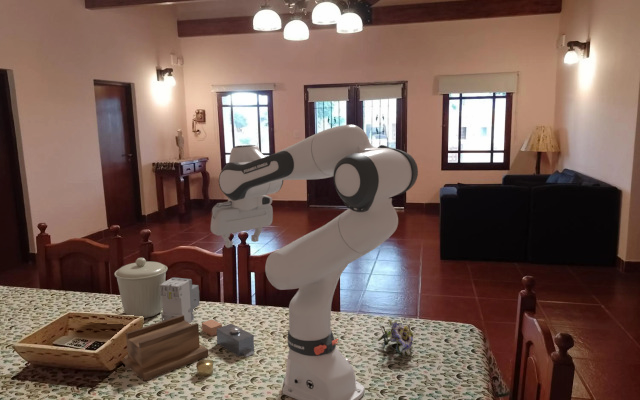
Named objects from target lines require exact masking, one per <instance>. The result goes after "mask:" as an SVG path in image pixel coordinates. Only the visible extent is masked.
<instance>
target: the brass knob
mask: <svg viewBox="0 0 640 400" xmlns="http://www.w3.org/2000/svg"><path fill="white" fill-rule="evenodd" d="M196 373H197V376H198V377H199V378H208V377H210V376H212V375H213V374H214V363H213V360H211V359H200V360H198V362H197V363H196Z"/></svg>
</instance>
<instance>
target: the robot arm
mask: <svg viewBox="0 0 640 400" xmlns="http://www.w3.org/2000/svg"><path fill="white" fill-rule="evenodd" d="M418 176H419V169H418V164H417V162H416V160H415V159H414V157H413V156H412V155H411V154H409V153H407V152H406V151H403V150H401V149H397V148H393V147H391V146H387V145H383V144H381V145H379V146H378V147H376V146H373V145H372V144H371V143H370V139H369V137H368V135H367V133H366V132H365V130H363V129H362V128H361V127H360V126H358V125H355V124H344V125H337V126H334V127H330V128H327V129H324V130H322V131H319V132H317V133H315V134H312V135H311V136H308V137H306V138H304V139H303V140H300V141H298V142H296V143H294V144H292V145H289V146H287V147H285V148H283V149H281V150H278V152H275V153H272V154H270V155H267V156H265V155H264V154H263V153H262V152H261V150H260V148H259V146H257V145H255V144H245V145H236V146H233V147H232V148H231V150H230V154H229V161H228V163H226V164H225V165H224V166H223V168H222V169H221V171H220V174H219V176H218V185H219V189H220V190H221V192H222V193H223V194H224V195H225V196H226V197H227V201H224V202H217V203H216V204H215V205H214V206H213V207H212V209H211V220H210V232H211V233H212V234H214V235H215V236H218V237H219V236H221V237H222V239H223V240H224V246H225V248H227V249H230V248H233V246H234V245H233V244H234V243H233V241H232V240H230V239H229V238H230V236H231V234H234V233H240V232H245V231H250V230H254V232H253V234H252V235H251V237H250V240H251V242H253V243H256V242H259V237H260V235H261V233H262V231H263V228H264V227H270V226H271V224H272V223H273V220H274V217H273V216H274V212H273V210H274V209H273V206H272V205H271V204H272V203H273V197H271V196H269V195H273V194H276V193H278V192H280V190H281V189H282V187H283V185H284V181H287V180H289V181H294V180H295V181H296V180H297V181H298V180H299V181H300V180H302V181H303V180H306V181H307V180H320V179H321V180H322V179H328V178H333V184H334V188H335V190H336V192H337V194H338V196H339V197H340V198H339V199H341V201H342V202H343V204H344V205H345V207H347V209H346V210H344V211H343V212H342V213H340V214H339V215H337V216H336V217H334V218H333V219H332V220H330V221H329V222H327V223H326V224H324V225H322V226H320V227H319V228H316V229H315V230H312V231H310V232H309V233H307V234H305V235H302V236H301V237H299V238H297V239H296V240H293V241H291V242H290V243H288V244H286V245H284V246H282V247H281V248H278V249H276V250H274V251H273V252H271V253H270V254H269V255H268V257H267V258H266V262H265V269H264V271H265V275H266V277H267V280H268V282H269V283H270V284H271V285H272V286H273V287H274V288H275V289H276V290H280V291H282V290H296V289H298V290H297V291H296V293H295V294H294V296H293V297H292V298H291V300H290V301H289V305H288V327H289V328H288V332H287V337H286V339H287V346H288V355H287V360H286V367H285V369H286V370H285V376H284V379H283V384H284V386H283V387H282V394H283V395H285V396H288V397H290V398H293V399H295V400H360V399H361V398H362V397H363V395H364V394H365V391H366V390H365V386H364V385H362V383H360V382H359V381H358V380H357V379H356V375H355V369H354V368H353V366H352V365H351V363H350V359H348V358H347V357H346V358H345V356H344V355H343V354H342V353H341V351H340V350H339V349H338V348H337V344H338V343H339V341H338V340H339V338H336V339H335V338H334V334H333V331H332V329H331V328H332V327H331V323H332V321H331V319H332V318H331V317H332V316H331V314H332V302H333V298H334V295H335V290H336V288H337V285H338V283H339V280H340V278H341V276H342V274H343V272H344V271H345V270H346V268H347V267H348V266H349V264H351V263H353V262H355V261H356V260H358V259H360V258H362V257H364V256H366V255H368V253H370V252H372V251H373V250H375V249H376V248H378V247H379V246H381V245H382V244H383V243H385V242H386V241H387V240H388V239H390V238H391V236H392V235H393V234H394V233H395V232H396V230H397V228H398V225H399V217H398V213H397V210H396V208H395V207H394V205H393V203H392V202H393V198H392V197H395V196H400V195H403V194H404V193H406V192H408V191H409V190H410V189H412V187H413V186H414V185H415V184H416V182H417V180H418Z"/></svg>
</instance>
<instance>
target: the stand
mask: <svg viewBox="0 0 640 400" xmlns="http://www.w3.org/2000/svg"><path fill="white" fill-rule="evenodd" d="M199 326H200V325H199V323H198V322H195V323H192V324H191V322H190V323H188V322H186V321H185V320H184V315H181V316H178V317H175V318H172V319H168V320H165V321H162V320H161V321H159V322H156V323H154V324H153V323H152V324H149V325H147V326H144V327H140V328H137V329H134V330H131V331H127V332H126V333H125V335H126V348H127V350H126V352H128V355H126V356H125V357H124V360H123V362H122V364H124V365H125V366H126V367H128V368H129V370H131V371H132V372H133V373H135V374H136V375H137V376H138V377H139V378H140V379H141V380H142V381H144V382H146V381H149V380H151V379H154V378H156V377H158V376H161V375H163V374H166V373H169V372H171V371H174V370H176V369H179V368H182V367H184V366H186V365H188V364H192V363H194V362H196V361H200V360H203V359H204V358H206V357H209V349H208V348H207V347H205V346H203V345H201V343H200V329H199Z"/></svg>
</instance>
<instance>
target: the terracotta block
mask: <svg viewBox="0 0 640 400" xmlns="http://www.w3.org/2000/svg"><path fill="white" fill-rule="evenodd" d="M220 327H223V324H222V323H220V322H218V321H216V320H214V319H209V320H207V321H202V322H201V331H202V332H204V333H206V334H208V335H209V336H212V337H213V336H217V329H218V328H220Z"/></svg>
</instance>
